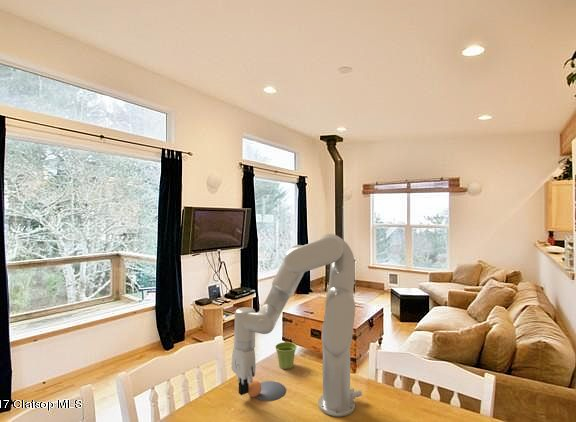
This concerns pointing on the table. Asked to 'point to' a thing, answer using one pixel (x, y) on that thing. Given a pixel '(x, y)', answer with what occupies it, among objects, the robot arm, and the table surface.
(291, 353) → the plant pot
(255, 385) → the ball
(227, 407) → the table surface
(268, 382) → the disc
